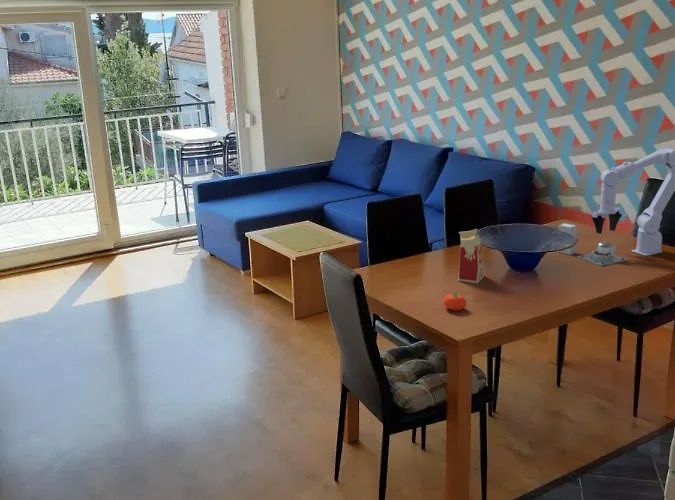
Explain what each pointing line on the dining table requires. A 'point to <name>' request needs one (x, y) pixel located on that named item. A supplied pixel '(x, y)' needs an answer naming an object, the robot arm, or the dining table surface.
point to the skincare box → (571, 230)
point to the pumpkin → (454, 302)
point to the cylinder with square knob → (605, 248)
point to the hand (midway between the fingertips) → (605, 231)
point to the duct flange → (602, 258)
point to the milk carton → (470, 257)
